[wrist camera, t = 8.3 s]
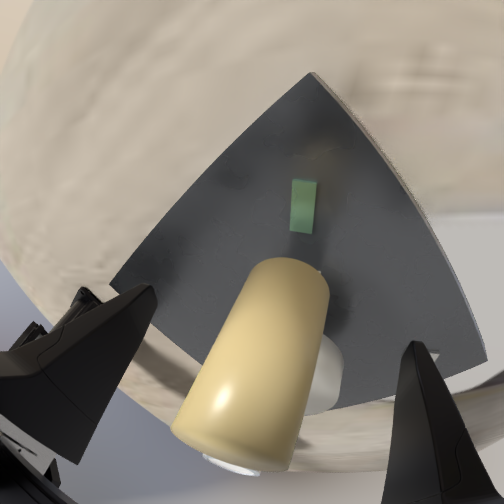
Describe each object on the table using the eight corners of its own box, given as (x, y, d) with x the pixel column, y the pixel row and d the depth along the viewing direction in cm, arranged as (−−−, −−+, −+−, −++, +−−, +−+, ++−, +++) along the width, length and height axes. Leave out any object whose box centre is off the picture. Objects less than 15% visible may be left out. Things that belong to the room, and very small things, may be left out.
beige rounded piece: (328, 397, 17) (299, 506, 11) (227, 372, 19) (180, 472, 13) (392, 249, 10) (391, 468, 4) (213, 215, 12) (88, 374, 6)
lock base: (281, 405, 27) (273, 432, 25) (119, 272, 22) (96, 298, 20) (484, 344, 15) (491, 381, 13) (314, 72, 10) (302, 73, 8)
